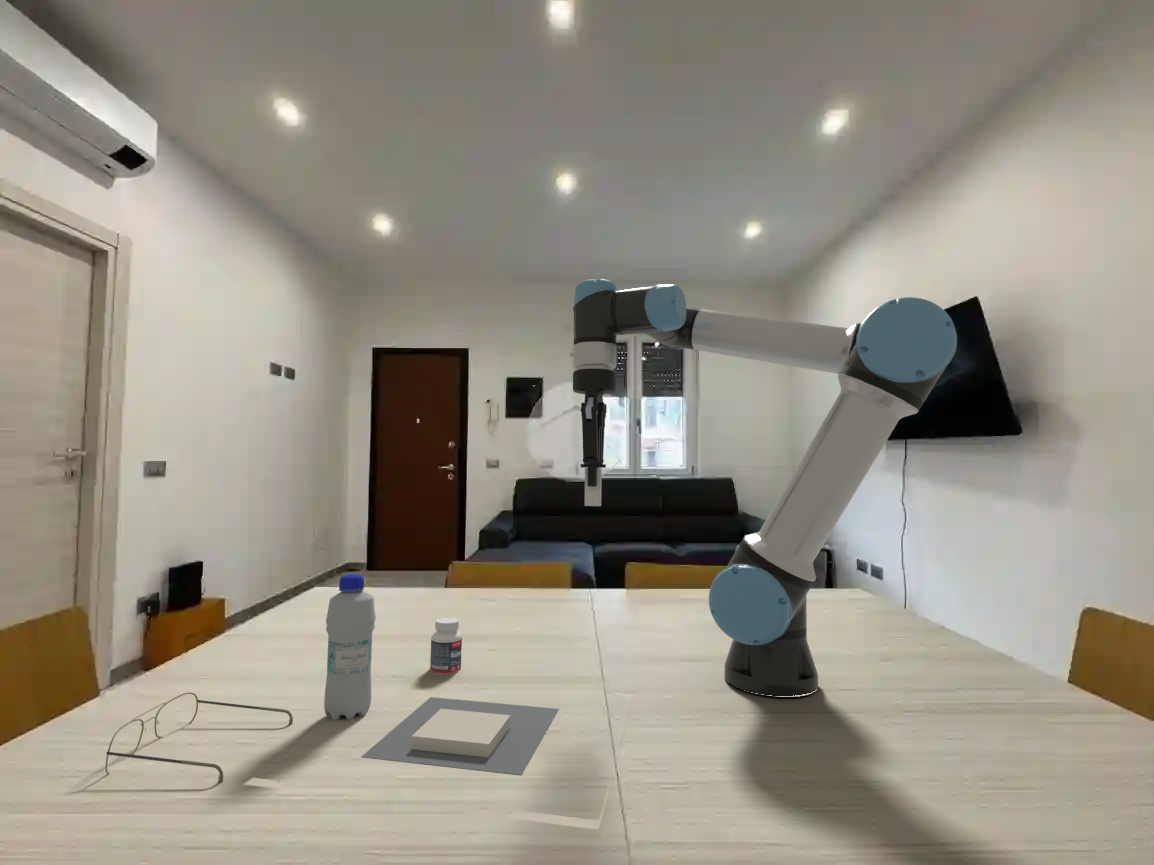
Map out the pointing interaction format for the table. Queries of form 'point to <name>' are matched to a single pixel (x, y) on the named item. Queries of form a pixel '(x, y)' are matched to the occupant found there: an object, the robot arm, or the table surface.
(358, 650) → the bottle
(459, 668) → the pill bottle
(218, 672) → the table surface
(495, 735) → the tile
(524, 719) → the mat
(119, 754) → the eyeglasses
